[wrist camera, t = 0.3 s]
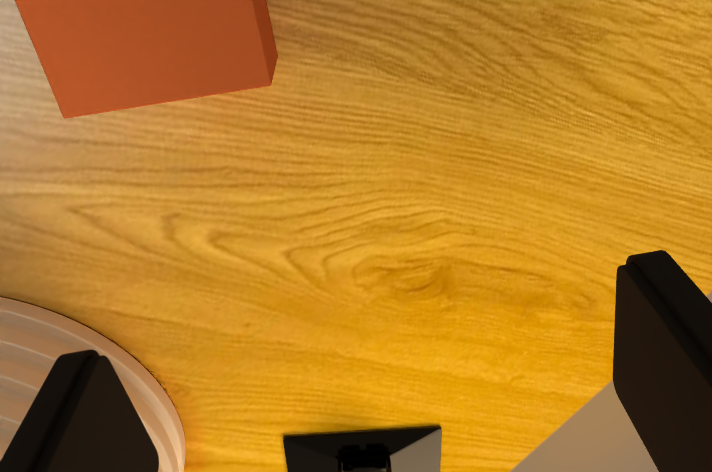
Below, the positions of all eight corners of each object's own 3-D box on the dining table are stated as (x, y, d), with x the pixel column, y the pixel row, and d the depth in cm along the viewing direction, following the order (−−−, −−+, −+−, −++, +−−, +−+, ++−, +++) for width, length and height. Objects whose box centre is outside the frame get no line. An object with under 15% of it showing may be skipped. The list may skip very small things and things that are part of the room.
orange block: (52, -32, 30) (7, -15, 26) (252, -66, 30) (240, -54, 26) (96, 86, 33) (63, 119, 29) (278, 57, 33) (271, 85, 29)
